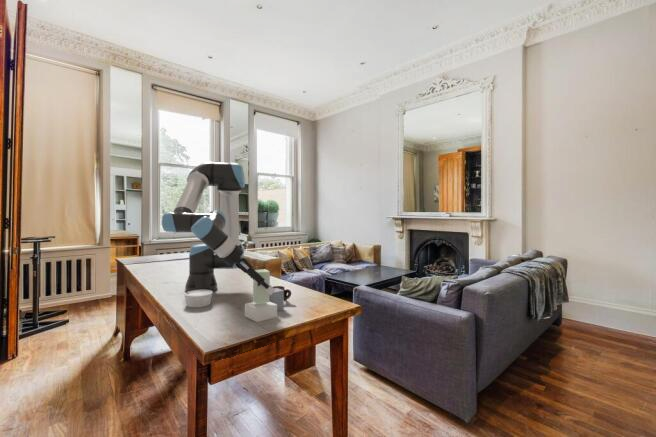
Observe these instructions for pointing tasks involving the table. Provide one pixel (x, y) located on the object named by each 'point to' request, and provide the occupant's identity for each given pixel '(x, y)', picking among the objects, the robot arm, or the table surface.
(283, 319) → the table surface
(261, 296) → the sage block
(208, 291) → the ramekin
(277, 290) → the slate block
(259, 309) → the base block
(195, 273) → the robot arm
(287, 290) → the pottery mug
